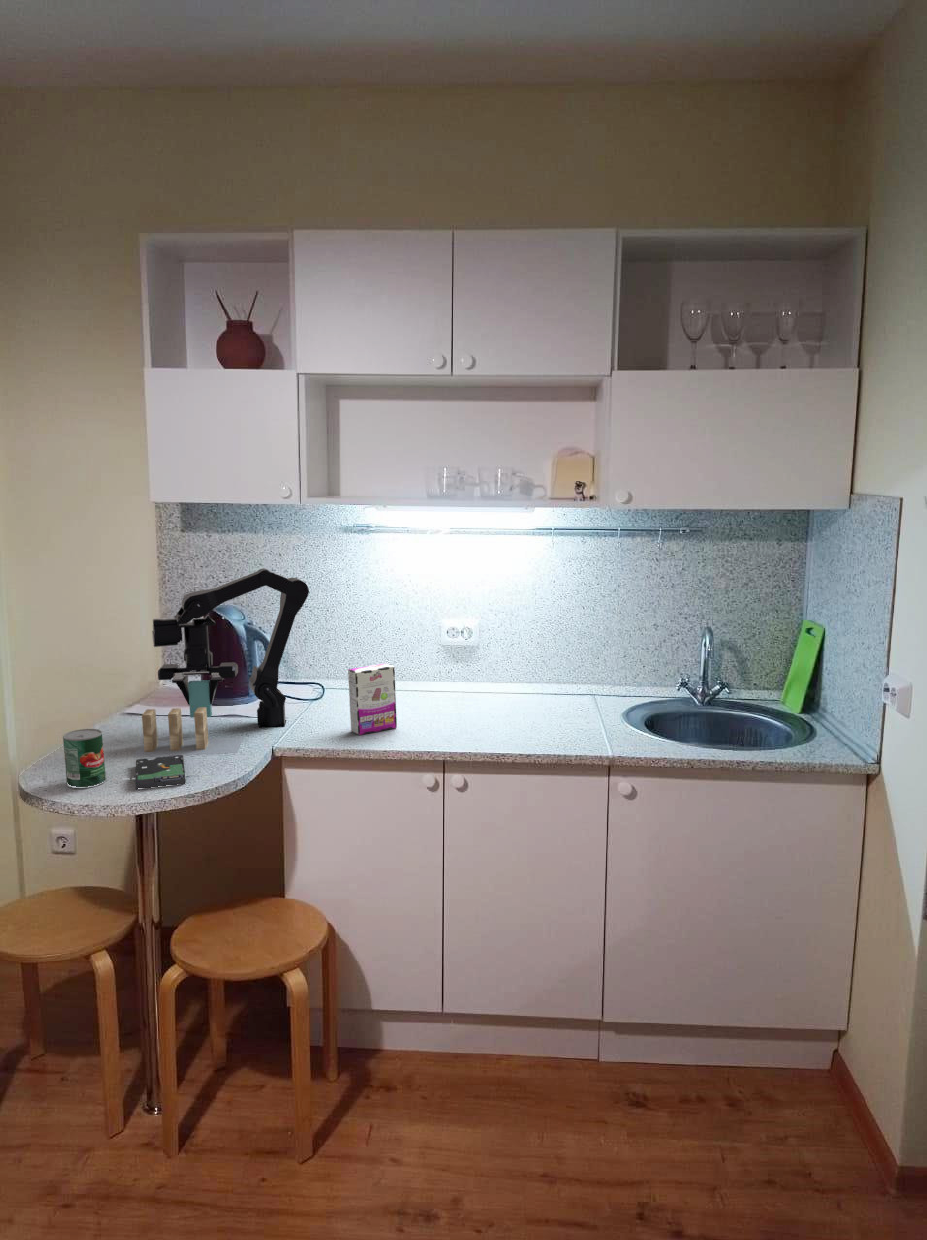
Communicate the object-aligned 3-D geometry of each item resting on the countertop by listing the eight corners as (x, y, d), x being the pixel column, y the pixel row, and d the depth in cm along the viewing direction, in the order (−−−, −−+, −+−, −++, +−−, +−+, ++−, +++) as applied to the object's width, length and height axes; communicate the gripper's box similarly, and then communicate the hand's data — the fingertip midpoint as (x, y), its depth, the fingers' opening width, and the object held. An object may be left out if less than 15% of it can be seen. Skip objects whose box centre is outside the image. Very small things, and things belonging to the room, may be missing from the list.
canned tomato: (74, 776, 206) (70, 728, 204) (111, 775, 206) (107, 727, 204) (61, 789, 198) (56, 739, 196) (99, 788, 198) (95, 738, 196)
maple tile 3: (183, 744, 227) (180, 708, 225) (179, 750, 222) (176, 713, 220) (174, 744, 226) (172, 708, 225) (170, 750, 221) (168, 714, 220)
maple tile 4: (157, 745, 226) (155, 709, 224) (153, 751, 221) (150, 714, 219) (149, 745, 226) (146, 709, 224) (144, 751, 221) (141, 715, 219)
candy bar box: (388, 723, 244) (386, 662, 241) (397, 728, 239) (395, 666, 236) (349, 731, 237) (347, 668, 235) (358, 736, 233) (356, 672, 230)
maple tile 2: (208, 743, 227) (206, 707, 226) (205, 749, 222) (202, 712, 221) (200, 743, 227) (197, 707, 225) (196, 749, 222) (194, 713, 220)
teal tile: (191, 715, 236) (189, 680, 234) (211, 714, 237) (209, 680, 235) (190, 717, 234) (188, 682, 233) (210, 716, 235) (208, 682, 233)
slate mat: (243, 739, 231) (243, 737, 231) (237, 754, 220) (237, 752, 220) (144, 743, 229) (144, 741, 229) (132, 759, 217) (132, 757, 217)
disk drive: (136, 771, 211) (136, 792, 197) (135, 759, 211) (135, 779, 197) (183, 765, 214) (187, 786, 200) (183, 754, 214) (186, 773, 200)
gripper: (239, 636, 241) (242, 695, 244) (165, 638, 239) (169, 697, 242) (233, 645, 230) (236, 706, 233) (155, 647, 228) (159, 709, 231)
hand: (200, 704), depth 235 cm, fingers closed on teal tile, 5 cm apart
